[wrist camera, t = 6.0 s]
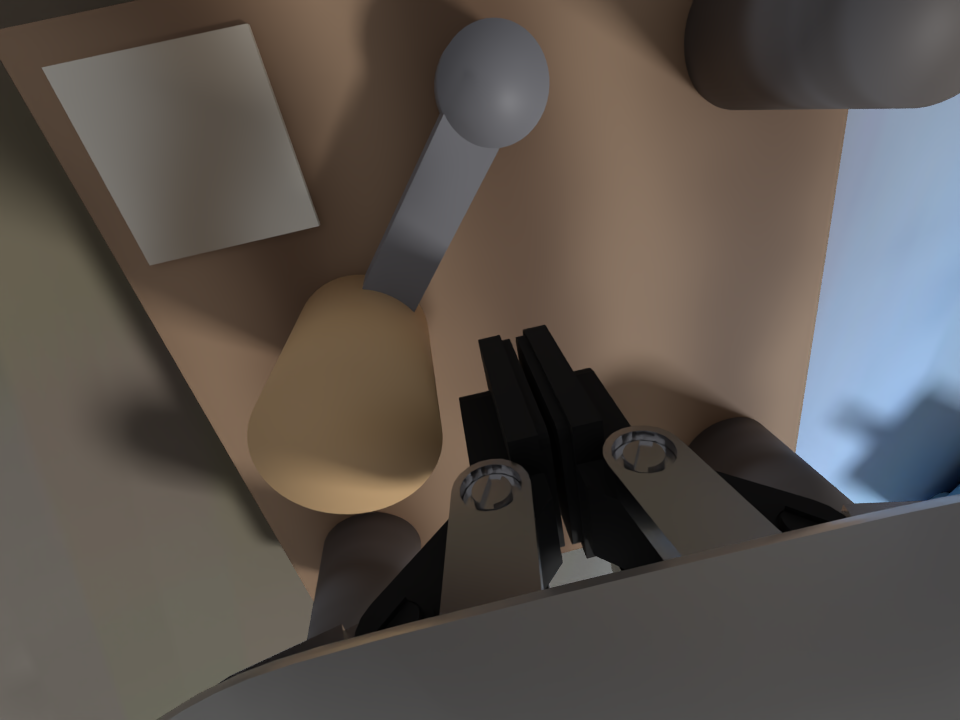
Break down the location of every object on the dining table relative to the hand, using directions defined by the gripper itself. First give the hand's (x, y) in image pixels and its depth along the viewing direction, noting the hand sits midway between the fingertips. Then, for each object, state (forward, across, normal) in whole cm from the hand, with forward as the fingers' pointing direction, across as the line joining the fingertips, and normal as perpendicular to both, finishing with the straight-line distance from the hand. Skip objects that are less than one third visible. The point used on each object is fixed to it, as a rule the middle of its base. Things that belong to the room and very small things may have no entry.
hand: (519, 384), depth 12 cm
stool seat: (+6, -1, +1) cm, 6 cm away
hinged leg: (+3, +2, -3) cm, 5 cm away
